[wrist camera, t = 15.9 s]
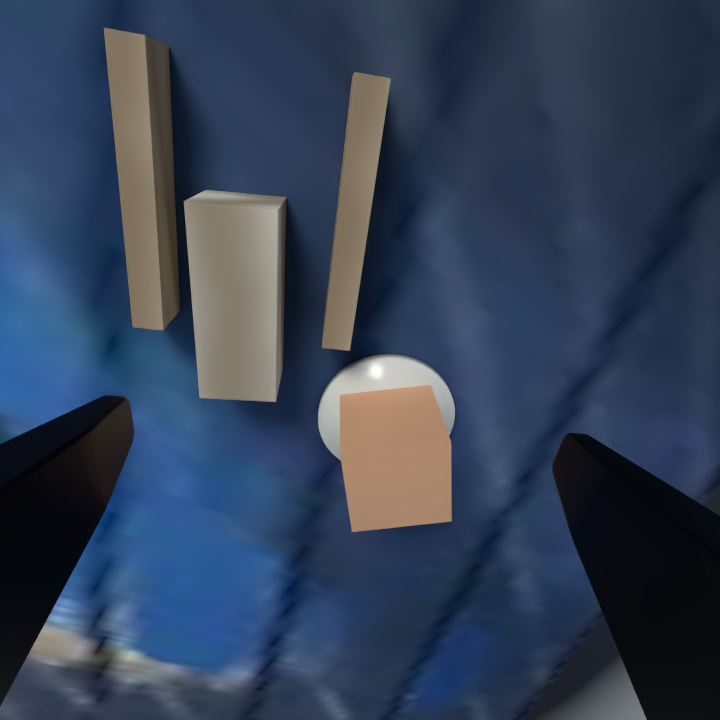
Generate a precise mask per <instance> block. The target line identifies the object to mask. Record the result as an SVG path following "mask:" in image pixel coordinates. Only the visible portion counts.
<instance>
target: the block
mask: <svg viewBox="0 0 720 720" xmlns="http://www.w3.org/2000/svg"><path fill="white" fill-rule="evenodd" d="M340 457H341V463H342V470H343V476H344V482H345V489H346V495H347V502H348V508H349V515H350V521H351V527H352V532H357V531H367V530H376V529H385V528H395V527H404V526H414V525H423V524H432V523H442V522H451V521H452V505H451V441H450V438H449V435H448V432H447V429H446V427H445V424H444V421H443V418H442V415H441V412H440V410H439V407H438V404H437V401H436V398H435V395H434V393H433V390H432V387H431V385H424V386H415V387H406V388H396V389H387V390H378V391H369V392H360V393H351V394H342V395H340Z"/></svg>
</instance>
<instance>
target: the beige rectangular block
mask: <svg viewBox="0 0 720 720" xmlns="http://www.w3.org/2000/svg"><path fill="white" fill-rule="evenodd" d="M184 210H185V222H186V235H187V247H188V259H189V272H190V284H191V296H192V309H193V321H194V334H195V346H196V358H197V371H198V383H199V395H200V398H212V399H230V400H248V401H267V402H276V398H277V394H278V389H279V384H280V380H281V375H282V371H283V339H284V288H285V237H286V197H277V196H266V195H256V194H245V193H234V192H224V191H213V190H205V191H203V192H201V193H199V194H197V195H195V196H193V197H191V198H189V199H187V200H185V201H184Z"/></svg>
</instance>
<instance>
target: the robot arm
mask: <svg viewBox="0 0 720 720" xmlns="http://www.w3.org/2000/svg"><path fill="white" fill-rule="evenodd" d="M133 438H134V427H133V421H132V414H131V407H130V402H129V400H128V399H127V398H126V397H121V396H109V395H106V396H102V397H100V398H98V399H96V400H94V401H91V402H89V403H87V404H85V405H83V406H81V407H79V408H76V409H74V410H72V411H70V412H68V413H66V414H64V415H61V416H59V417H57V418H55V419H53V420H51V421H49V422H46V423H44V424H42V425H40V426H38V427H36V428H34V429H31V430H29V431H27V432H25V433H23V434H21V435H19V436H17V437H14V438H12V439H10V440H8V441H6V442H4V443H2V444H0V706H1V704H2V702H3V700H4V698H5V696H6V695H7V693H8V691H9V689H10V687H11V685H12V683H13V682H14V680H15V678H16V676H17V674H18V672H19V670H20V669H21V667H22V665H23V663H24V661H25V659H26V657H27V656H28V654H29V652H30V650H31V648H32V646H33V644H34V642H35V641H36V639H37V637H38V635H39V633H40V631H41V629H42V628H43V626H44V624H45V622H46V620H47V618H48V616H49V615H50V613H51V611H52V609H53V607H54V605H55V603H56V602H57V600H58V598H59V596H60V594H61V592H62V590H63V589H64V587H65V585H66V583H67V581H68V579H69V577H70V575H71V574H72V572H73V570H74V568H75V566H76V564H77V562H78V561H79V559H80V557H81V555H82V553H83V551H84V549H85V548H86V546H87V544H88V542H89V540H90V538H91V536H92V535H93V533H94V531H95V529H96V527H97V525H98V523H99V521H100V519H101V518H102V516H103V514H104V512H105V510H106V507H107V505H108V503H109V500H110V498H111V495H112V493H113V490H114V488H115V485H116V483H117V480H118V478H119V475H120V473H121V470H122V467H123V465H124V462H125V460H126V457H127V455H128V452H129V450H130V447H131V445H132V442H133ZM552 472H553V476H554V480H555V483H556V487H557V490H558V493H559V497H560V500H561V503H562V507H563V510H564V514H565V517H566V520H567V524H568V527H569V530H570V533H571V536H572V539H573V542H574V544H575V547H576V549H577V552H578V554H579V557H580V559H581V561H582V564H583V566H584V569H585V571H586V574H587V576H588V578H589V581H590V583H591V586H592V588H593V591H594V593H595V595H596V598H597V600H598V603H599V605H600V607H601V610H602V612H603V615H604V617H605V620H606V622H607V624H608V627H609V629H610V631H611V634H612V636H613V639H614V641H615V643H616V646H617V648H618V651H619V653H620V656H621V658H622V660H623V663H624V665H625V668H626V670H627V673H628V675H629V677H630V680H631V682H632V685H633V687H634V690H635V692H636V694H637V697H638V699H639V702H640V704H641V707H642V709H643V711H644V714H645V716H646V718H647V720H720V516H719V515H718V514H716V513H714V512H713V511H711V510H709V509H708V508H706V507H705V506H703V505H701V504H700V503H698V502H696V501H695V500H693V499H692V498H690V497H688V496H687V495H685V494H683V493H682V492H680V491H678V490H677V489H675V488H674V487H672V486H670V485H669V484H667V483H665V482H664V481H662V480H661V479H659V478H657V477H656V476H654V475H652V474H651V473H649V472H648V471H646V470H644V469H643V468H641V467H639V466H638V465H636V464H635V463H633V462H631V461H630V460H628V459H626V458H625V457H623V456H621V455H620V454H618V453H617V452H615V451H613V450H612V449H610V448H608V447H607V446H605V445H604V444H602V443H600V442H599V441H597V440H595V439H594V438H592V437H591V436H589V435H586V434H578V433H568V434H566V435H565V436H564V437H563V439H562V442H561V444H560V446H559V449H558V451H557V453H556V456H555V458H554V460H553V464H552Z"/></svg>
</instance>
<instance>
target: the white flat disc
mask: <svg viewBox="0 0 720 720" xmlns="http://www.w3.org/2000/svg"><path fill="white" fill-rule="evenodd" d="M424 385H431V387H432V390H433V393H434V395H435V398H436V401H437V404H438V407H439V410H440V412H441V415H442V418H443V421H444V424H445V427H446V429H447V432H448V435H450V433H451V430H452V428H453V424H454V419H455V407H454V402H453V398H452V395H451V393H450V391H449V389H448V386H447V384H446V383H445V381H444V380H443V378H442V377H441V376H440V375H439V373H438V372H437V371H435V370H434V369H433V368H432V367H431V366H429V365H427V364H426V363H424V362H422V361H420V360H418V359H415V358H412V357H409V356H404V355H398V354H381V355H374V356H369V357H366V358H363V359H360V360H358V361H355V362H353V363H351V364H350V365H348V366H346V367H345V368H343V369H342V370H341V371H340V372H338V373H337V374H336V375H335V376H334V377H333V378H332V379H331V381H330V382H329V383H328V385H327V386H326V388H325V390H324V392H323V394H322V397H321V399H320V404H319V412H318V425H319V431H320V434H321V437H322V439H323V441H324V443H325V445H326V446H327V448H328V449H329V450H330V451H331V452H332V454H333V455H335V456H336V457H337V458H338V459H339V460H341V457H340V395H342V394H351V393H360V392H369V391H378V390H387V389H396V388H406V387H415V386H424Z"/></svg>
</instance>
